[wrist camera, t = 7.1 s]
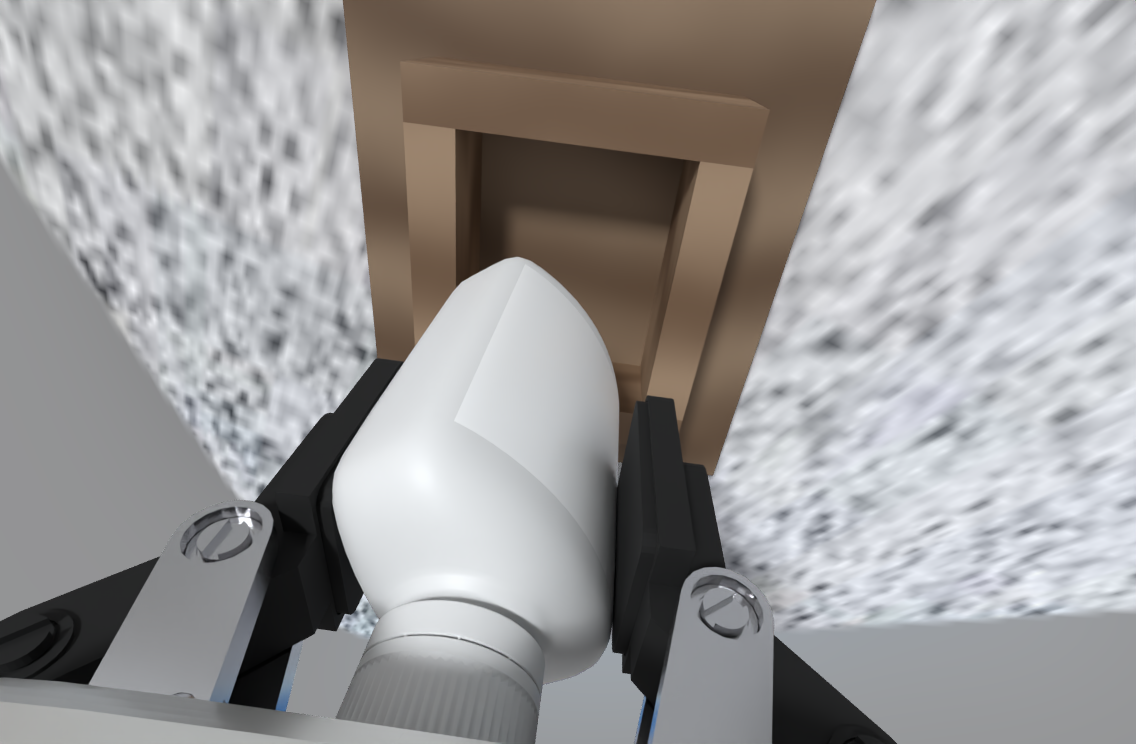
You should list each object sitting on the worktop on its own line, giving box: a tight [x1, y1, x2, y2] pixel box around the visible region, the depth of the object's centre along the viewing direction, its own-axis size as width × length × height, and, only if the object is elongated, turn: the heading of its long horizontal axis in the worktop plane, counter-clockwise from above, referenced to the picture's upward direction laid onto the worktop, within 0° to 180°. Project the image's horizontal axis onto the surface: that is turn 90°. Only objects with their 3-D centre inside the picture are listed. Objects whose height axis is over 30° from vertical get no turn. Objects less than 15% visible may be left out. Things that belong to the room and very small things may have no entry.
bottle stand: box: [343, 0, 876, 476], centre depth 20 cm, size 20×16×5 cm
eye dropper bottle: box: [332, 257, 619, 744], centre depth 10 cm, size 4×6×12 cm
